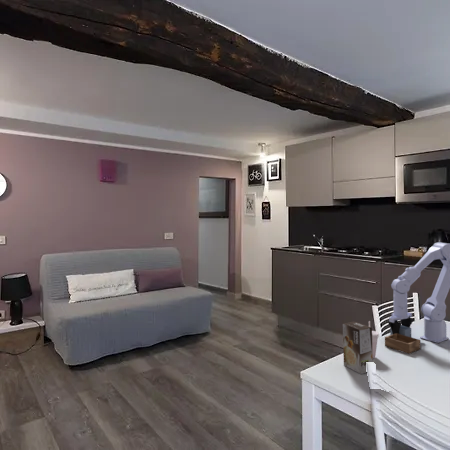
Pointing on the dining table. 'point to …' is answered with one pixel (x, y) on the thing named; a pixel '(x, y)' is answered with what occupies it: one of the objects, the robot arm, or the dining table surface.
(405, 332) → the slate crate
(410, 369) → the dining table surface
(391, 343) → the walnut crate
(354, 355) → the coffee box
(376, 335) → the smoothie
